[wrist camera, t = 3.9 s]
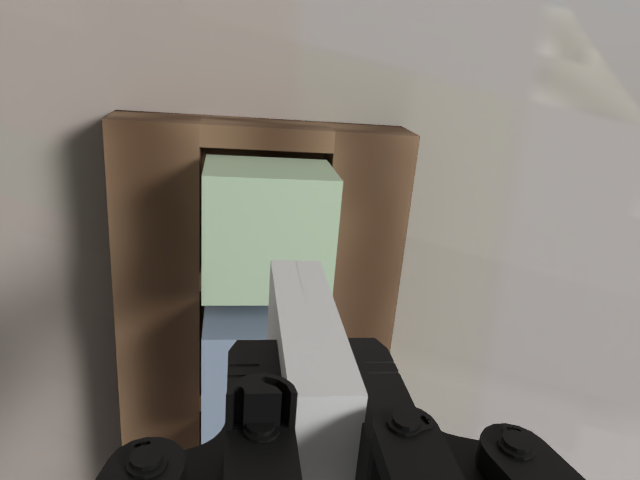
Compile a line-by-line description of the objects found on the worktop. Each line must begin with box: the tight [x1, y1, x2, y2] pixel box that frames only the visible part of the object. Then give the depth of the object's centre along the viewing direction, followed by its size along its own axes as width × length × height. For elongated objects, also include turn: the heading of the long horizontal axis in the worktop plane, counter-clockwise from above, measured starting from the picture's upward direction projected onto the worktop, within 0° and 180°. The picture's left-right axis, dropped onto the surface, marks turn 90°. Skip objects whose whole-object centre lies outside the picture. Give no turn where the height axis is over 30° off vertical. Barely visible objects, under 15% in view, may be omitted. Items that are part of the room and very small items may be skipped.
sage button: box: [201, 154, 343, 306], centre depth 23 cm, size 5×5×4 cm
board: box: [102, 110, 420, 450], centre depth 29 cm, size 14×22×3 cm, turn 176°
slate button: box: [201, 306, 268, 444], centre depth 26 cm, size 5×5×4 cm
